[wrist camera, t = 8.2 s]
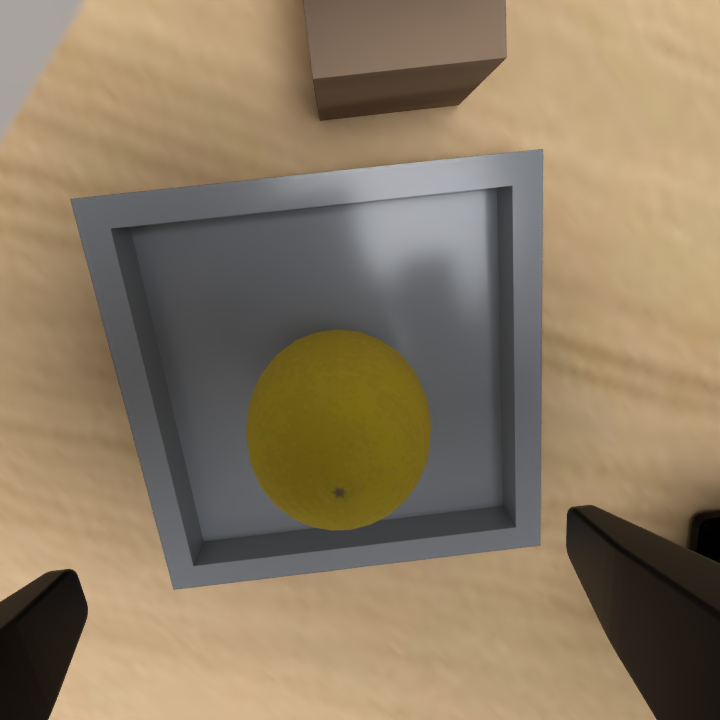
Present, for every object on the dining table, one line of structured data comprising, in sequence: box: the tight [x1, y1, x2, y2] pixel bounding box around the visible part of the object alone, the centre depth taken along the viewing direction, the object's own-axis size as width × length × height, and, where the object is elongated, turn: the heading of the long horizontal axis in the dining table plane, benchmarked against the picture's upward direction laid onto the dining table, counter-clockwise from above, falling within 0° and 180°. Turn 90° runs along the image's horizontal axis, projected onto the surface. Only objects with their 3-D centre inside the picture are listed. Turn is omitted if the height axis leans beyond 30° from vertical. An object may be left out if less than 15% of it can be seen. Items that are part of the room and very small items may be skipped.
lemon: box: [246, 329, 431, 531], centre depth 14 cm, size 6×6×8 cm
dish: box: [70, 149, 543, 590], centre depth 18 cm, size 15×15×2 cm
